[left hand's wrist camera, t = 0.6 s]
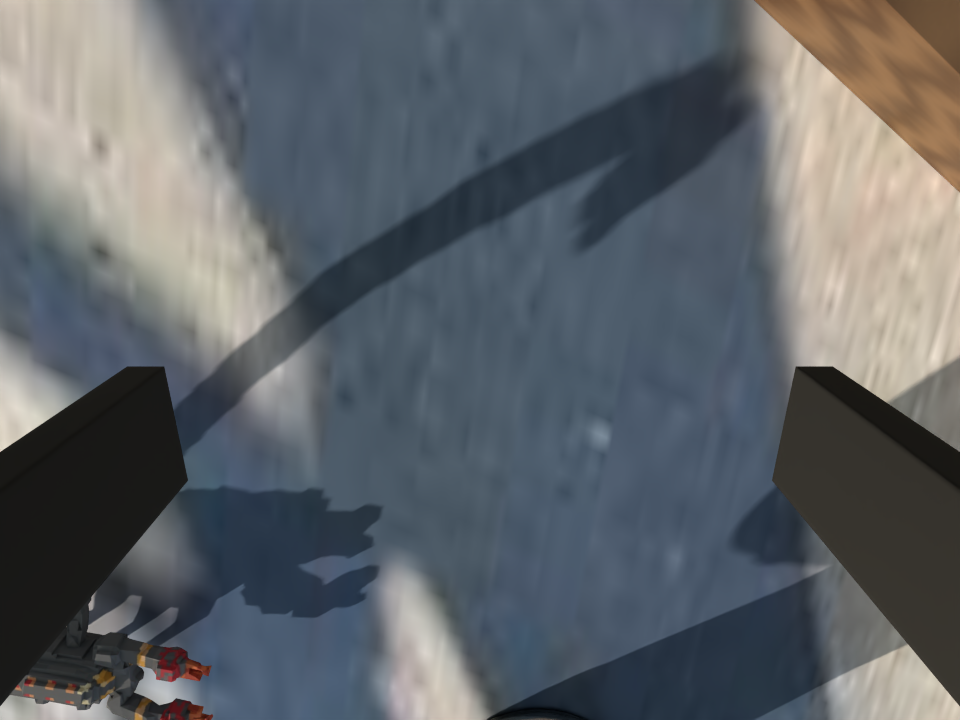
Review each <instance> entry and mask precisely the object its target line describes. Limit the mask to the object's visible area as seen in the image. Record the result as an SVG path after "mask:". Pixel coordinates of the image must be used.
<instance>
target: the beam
mask: <svg viewBox="0 0 960 720" xmlns="http://www.w3.org/2000/svg"><path fill="white" fill-rule="evenodd" d="M755 1H756V2H757V3H758V4H759V5H760V6H761V7H762V8H763V9H764V10H765V11H766V12H767V13H768V14H770V15H771V16H772V17H773V18H774V19H775V20H776V21H777V22H778V23H779V24H780V25H781V26H782V27H783V28H785V29H786V30H787V31H788V32H789V33H790V34H791V35H792V36H793V37H794V38H795V39H796V40H797V41H798V42H800V43H801V44H802V45H803V46H804V47H805V48H806V49H807V50H808V51H809V52H810V53H811V54H812V55H813V56H814V57H816V58H817V59H818V60H819V61H820V62H821V63H822V64H823V65H824V66H825V67H826V68H827V69H828V70H829V71H831V72H832V73H833V74H834V75H835V76H836V77H837V78H838V79H839V80H840V81H841V82H842V83H843V84H844V85H846V86H847V87H848V88H849V89H850V90H851V91H852V92H853V93H854V94H855V95H856V96H857V97H858V98H859V99H860V100H862V101H863V102H864V103H865V104H866V105H867V106H868V107H869V108H870V109H871V110H872V111H873V112H874V113H875V114H877V115H878V116H879V117H880V118H881V119H882V120H883V121H884V122H885V123H886V124H887V125H888V126H889V127H890V128H892V129H893V130H894V131H895V132H896V133H897V134H898V135H899V136H900V137H901V138H902V139H903V140H904V141H905V142H907V143H908V144H909V145H910V146H911V147H912V148H913V149H914V150H915V151H916V152H917V153H918V154H919V155H920V156H921V157H923V158H924V159H925V160H926V161H927V162H928V163H929V164H930V165H931V166H932V167H933V168H934V169H935V170H936V171H938V172H939V173H940V174H941V175H942V176H943V177H944V178H945V179H946V180H947V181H948V182H949V183H950V184H951V185H953V186H954V187H955V188H956V189H957V190H958V191H959V192H960V0H755Z"/></svg>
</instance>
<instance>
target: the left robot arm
mask: <svg viewBox="0 0 960 720" xmlns="http://www.w3.org/2000/svg"><path fill="white" fill-rule="evenodd" d="M187 481H188V478H187V474H186V469H185V464H184V459H183V455H182V450H181V445H180V440H179V435H178V431H177V426H176V421H175V416H174V411H173V407H172V402H171V397H170V392H169V388H168V383H167V378H166V373H165V368H164V367H126V368H124V369H123V370H121V371H120V372H119V373H117V374H116V375H114V376H113V377H111V378H110V379H108V380H107V381H105V382H104V383H102V384H101V385H99V386H98V387H96V388H95V389H93V390H92V391H90V392H89V393H87V394H86V395H84V396H83V397H81V398H80V399H78V400H77V401H75V402H74V403H72V404H71V405H69V406H68V407H66V408H65V409H64V410H62V411H61V412H59V413H58V414H56V415H55V416H53V417H52V418H50V419H49V420H47V421H46V422H44V423H43V424H41V425H40V426H38V427H37V428H35V429H34V430H32V431H31V432H29V433H28V434H26V435H25V436H23V437H22V438H20V439H19V440H17V441H16V442H14V443H13V444H12V445H10V446H9V447H7V448H6V449H4V450H3V451H1V452H0V706H1V705H2V703H3V702H4V701H5V700H6V699H7V697H8V696H9V695H10V694H11V693H12V691H13V690H14V689H15V688H16V687H17V685H18V684H19V683H20V682H21V681H22V679H23V678H24V677H25V676H26V675H27V673H28V672H29V671H30V670H31V669H32V667H33V666H34V665H35V664H36V662H37V661H38V660H39V659H40V658H41V656H42V655H43V654H44V653H45V652H46V650H47V649H48V648H49V647H50V646H51V644H52V643H53V642H54V641H55V640H56V638H57V637H58V636H59V635H60V634H61V632H62V631H63V630H64V629H65V628H66V626H67V625H68V624H69V623H70V622H71V620H72V619H73V618H74V617H75V616H76V614H77V613H78V612H79V611H80V610H81V608H82V607H83V606H84V605H85V604H86V602H87V601H88V600H89V599H90V598H91V596H92V595H93V594H94V593H95V592H96V590H97V589H98V588H99V587H100V586H101V584H102V583H103V582H104V581H105V580H106V578H107V577H108V576H109V575H110V574H111V572H112V571H113V570H114V569H115V568H116V566H117V565H118V564H119V563H120V561H121V560H122V559H123V558H124V557H125V555H126V554H127V553H128V552H129V551H130V549H131V548H132V547H133V546H134V545H135V543H136V542H137V541H138V540H139V539H140V537H141V536H142V535H143V534H144V533H145V531H146V530H147V529H148V528H149V527H150V525H151V524H152V523H153V522H154V521H155V519H156V518H157V517H158V516H159V515H160V513H161V512H162V511H163V510H164V509H165V507H166V506H167V505H168V504H169V503H170V501H171V500H172V499H173V498H174V497H175V495H176V494H177V493H178V492H179V491H180V489H181V488H182V487H183V486H184V485H185V483H186V482H187ZM772 481H773V482H774V483H775V485H776V486H777V487H778V488H779V489H780V491H781V492H782V493H783V494H784V495H785V497H786V498H787V499H788V500H789V501H790V503H791V504H792V505H793V506H794V507H795V509H796V510H797V511H798V512H799V513H800V515H801V516H802V517H803V518H804V519H805V521H806V522H807V523H808V524H809V525H810V527H811V528H812V529H813V530H814V531H815V533H816V534H817V535H818V536H819V537H820V539H821V540H822V541H823V542H824V543H825V545H826V546H827V547H828V548H829V549H830V551H831V552H832V553H833V554H834V555H835V557H836V558H837V559H838V560H839V561H840V563H841V564H842V565H843V566H844V568H845V569H846V570H847V571H848V572H849V574H850V575H851V576H852V577H853V578H854V580H855V581H856V582H857V583H858V584H859V586H860V587H861V588H862V589H863V590H864V592H865V593H866V594H867V595H868V596H869V598H870V599H871V600H872V601H873V602H874V604H875V605H876V606H877V607H878V608H879V610H880V611H881V612H882V613H883V614H884V616H885V617H886V618H887V619H888V620H889V622H890V623H891V624H892V625H893V626H894V628H895V629H896V630H897V631H898V632H899V634H900V635H901V636H902V637H903V638H904V640H905V641H906V642H907V643H908V644H909V646H910V647H911V648H912V649H913V650H914V652H915V653H916V654H917V655H918V656H919V658H920V659H921V660H922V661H923V662H924V664H925V665H926V666H927V667H928V669H929V670H930V671H931V672H932V673H933V675H934V676H935V677H936V678H937V679H938V681H939V682H940V683H941V684H942V685H943V687H944V688H945V689H946V690H947V691H948V693H949V694H950V695H951V696H952V697H953V699H954V700H955V701H956V702H957V703H958V705H959V706H960V452H959V451H957V450H956V449H954V448H953V447H951V446H950V445H948V444H947V443H946V442H944V441H943V440H941V439H940V438H938V437H937V436H935V435H934V434H932V433H931V432H929V431H928V430H926V429H925V428H923V427H922V426H920V425H919V424H917V423H916V422H914V421H913V420H911V419H910V418H908V417H907V416H905V415H904V414H902V413H901V412H899V411H898V410H896V409H895V408H893V407H892V406H891V405H889V404H888V403H886V402H885V401H883V400H882V399H880V398H879V397H877V396H876V395H874V394H873V393H871V392H870V391H868V390H867V389H865V388H864V387H862V386H861V385H859V384H858V383H856V382H855V381H853V380H852V379H850V378H849V377H847V376H846V375H844V374H843V373H841V372H840V371H839V370H837V369H836V368H834V367H796V368H795V373H794V378H793V383H792V388H791V392H790V397H789V402H788V407H787V411H786V416H785V421H784V426H783V431H782V435H781V440H780V445H779V450H778V455H777V459H776V464H775V469H774V474H773V478H772ZM490 720H584V719H582V718H580V717H578V716H575V715H572V714H569V713H565V712H560V711H555V710H544V709H532V710H521V711H515V712H511V713H507V714H503V715H501V716H498V717H495V718H493V719H490Z"/></svg>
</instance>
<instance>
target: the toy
mask: <svg viewBox="0 0 960 720" xmlns="http://www.w3.org/2000/svg"><path fill="white" fill-rule="evenodd" d="M90 601H91V598H90V599H89V600H88V601H87V602H86V604H85V605H84V606H83V607H82V608H81V610H80V611H79V612H78V613H77V614H76V616H75V617H74V618H73V619H72V620H71V622H70V623H69V624H68V625H67V627H66V628H65V629H64V630H63V631H62V632H61V634H60V635H59V636H58V637H57V638H56V640H55V641H54V642H53V643H52V644H51V646H50V647H49V648H48V649H47V650H46V652H45V653H44V654H43V655H42V656H41V658H40V659H39V660H38V661H37V662H36V664H35V665H34V666H33V667H32V669H31V670H30V671H29V672H28V673H27V675H26V676H25V677H24V678H23V679H22V681H21V682H20V683H19V684H18V685H17V687H16V688H15V689H14V690H13V691H12V693H11V694H10V695H15V696H21V697H27V698H33V699H35V701H36V703H37V704H45V703H48V702H49V701H50V702H56V703H61V704H66V705H72V706H77V710H87V709H90V707H91V705H92V704H93V703H96V704H99V703H100V702H101V700H102V699H103V698H105V697H106V696H107V695H108V694H109V695H110V696H109V699H108V702H107V708H108V709H109V710H110V711H111V712H112V713H113V714H116V715H118V716H121V717H124V718H126V719H128V720H211V719H212V717H213V715H206V714H202V711H203V706H198V705H193V704H192V703H191V702H190V701H186V700H181V699H177V698H176V699H175V700H174V701H173V702H171V703H167V704H163V705H158V704H156V703H155V702H153V701H152V700H150V699H148V698H146V697H144V696H142V695H139V694H136V693H134V691H135V690H136V687H137V685H138V683H139V681H140V680H141V679H143V676H144V671H143V670H142V668H140V667H139V666H143V667H147V668H151V669H153V671H154V672H155V674H156V679H157V680H163V681H169V682H172V681H175V680H176V678H185V679H191V680H196V681H200V679H201V677H202V674H204V675H206V676H209V672H210V669H211V666H203V665H201V664H200V663H199V662H196V661H193V660H190V659H189V658H188V654H187V651H185V650H183V649H182V648H179V647H171V648H167V647H160V646H153V645H149V644H147V643H144V642H140V641H136V640H132V639H129V638H127V634H122V633H112V632H110V633H108V634H106V635H100V634H94V633H88V632H87V629H88V618H89V606H88V604H89V602H90ZM138 665H139V666H138Z"/></svg>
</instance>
